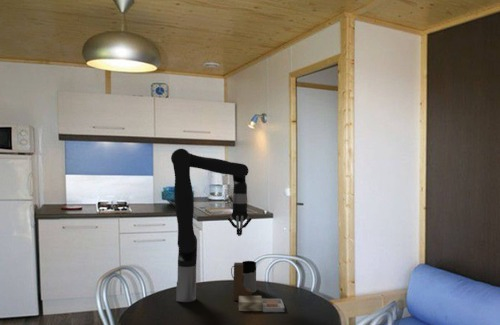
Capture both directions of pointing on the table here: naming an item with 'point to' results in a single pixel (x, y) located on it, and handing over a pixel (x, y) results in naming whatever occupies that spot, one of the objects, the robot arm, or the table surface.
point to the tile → (271, 304)
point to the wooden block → (239, 283)
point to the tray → (273, 309)
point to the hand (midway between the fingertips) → (239, 235)
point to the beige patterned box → (250, 303)
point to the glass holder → (249, 275)
